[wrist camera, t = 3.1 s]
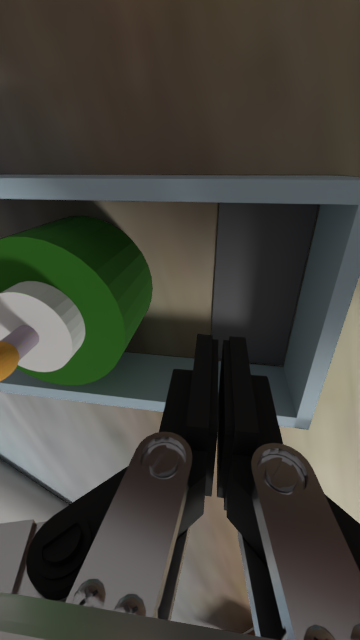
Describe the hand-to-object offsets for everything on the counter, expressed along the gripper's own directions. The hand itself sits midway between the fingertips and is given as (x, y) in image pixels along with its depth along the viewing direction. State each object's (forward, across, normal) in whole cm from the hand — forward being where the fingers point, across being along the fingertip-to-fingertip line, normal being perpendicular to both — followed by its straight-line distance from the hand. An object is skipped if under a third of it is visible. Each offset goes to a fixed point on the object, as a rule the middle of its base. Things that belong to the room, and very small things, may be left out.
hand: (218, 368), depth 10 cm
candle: (+9, +8, 0) cm, 12 cm away
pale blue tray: (+8, +4, 0) cm, 9 cm away
